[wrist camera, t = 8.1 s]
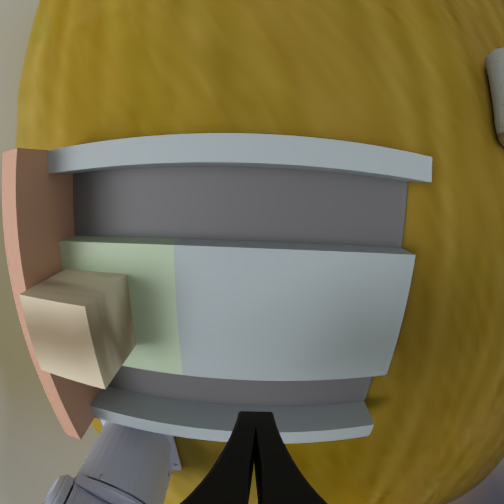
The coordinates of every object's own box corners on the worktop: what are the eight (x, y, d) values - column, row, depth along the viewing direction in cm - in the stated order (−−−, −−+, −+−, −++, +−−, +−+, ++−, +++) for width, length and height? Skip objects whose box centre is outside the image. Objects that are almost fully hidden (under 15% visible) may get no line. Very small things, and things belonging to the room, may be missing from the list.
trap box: (358, 409, 21) (378, 461, 15) (96, 390, 22) (66, 434, 15) (404, 160, 16) (463, 154, 10) (63, 155, 17) (2, 152, 10)
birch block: (136, 344, 17) (105, 389, 12) (78, 334, 17) (41, 369, 12) (127, 274, 16) (84, 306, 11) (66, 269, 16) (18, 294, 11)
